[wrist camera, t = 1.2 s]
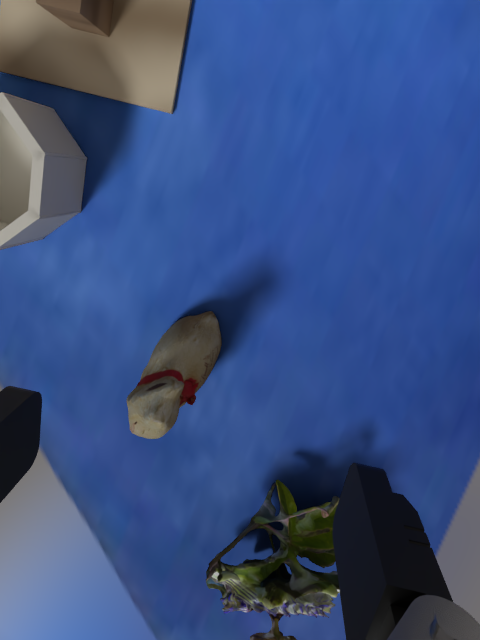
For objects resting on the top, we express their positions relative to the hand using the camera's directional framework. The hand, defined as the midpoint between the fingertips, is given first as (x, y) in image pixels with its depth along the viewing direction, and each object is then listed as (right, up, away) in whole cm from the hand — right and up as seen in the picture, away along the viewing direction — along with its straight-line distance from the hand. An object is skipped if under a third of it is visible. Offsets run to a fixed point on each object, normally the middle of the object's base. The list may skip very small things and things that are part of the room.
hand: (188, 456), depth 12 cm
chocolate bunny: (-3, +1, +24) cm, 25 cm away
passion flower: (+5, -14, +28) cm, 32 cm away
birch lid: (-8, +24, +18) cm, 31 cm away
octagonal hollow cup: (-14, +14, +21) cm, 29 cm away
